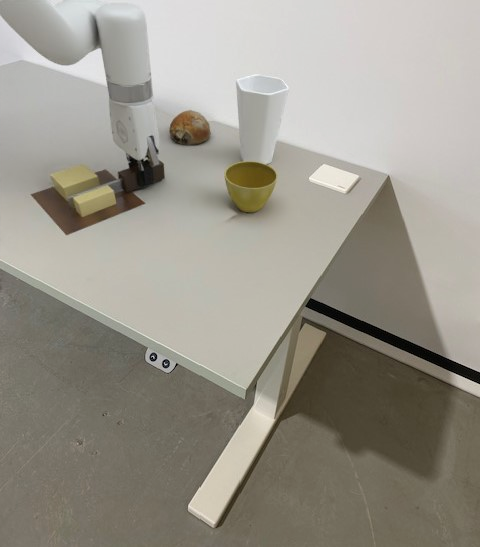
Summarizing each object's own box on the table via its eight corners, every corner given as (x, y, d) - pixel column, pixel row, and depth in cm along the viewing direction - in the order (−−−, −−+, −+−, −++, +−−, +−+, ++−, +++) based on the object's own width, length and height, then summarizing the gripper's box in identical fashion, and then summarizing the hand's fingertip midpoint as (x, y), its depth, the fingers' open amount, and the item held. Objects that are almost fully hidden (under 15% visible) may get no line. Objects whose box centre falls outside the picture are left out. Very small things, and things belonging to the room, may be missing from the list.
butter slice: (82, 217, 77) (78, 203, 75) (76, 210, 78) (72, 197, 76) (116, 204, 80) (114, 190, 78) (110, 198, 81) (107, 184, 79)
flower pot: (214, 200, 85) (214, 169, 80) (253, 186, 90) (256, 156, 85) (243, 226, 79) (245, 194, 74) (283, 209, 84) (288, 178, 79)
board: (68, 241, 74) (66, 235, 73) (32, 200, 82) (30, 194, 81) (146, 209, 82) (145, 203, 81) (106, 175, 90) (105, 169, 89)
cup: (230, 148, 101) (233, 74, 89) (270, 146, 103) (278, 73, 91) (240, 172, 93) (244, 95, 82) (283, 169, 95) (293, 93, 83)
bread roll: (211, 155, 106) (223, 124, 102) (178, 147, 99) (190, 114, 95) (191, 139, 111) (202, 109, 108) (159, 131, 104) (169, 99, 101)
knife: (158, 173, 88) (157, 158, 86) (165, 178, 87) (163, 163, 84) (67, 206, 78) (62, 189, 75) (72, 212, 77) (68, 195, 74)
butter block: (67, 201, 80) (63, 188, 78) (53, 187, 83) (49, 174, 81) (100, 189, 84) (97, 176, 81) (86, 176, 87) (83, 163, 85)
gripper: (88, 79, 74) (106, 171, 87) (136, 110, 66) (148, 206, 79) (125, 71, 78) (137, 160, 91) (175, 99, 70) (181, 193, 82)
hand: (142, 181), depth 85 cm, fingers closed on knife, 2 cm apart
